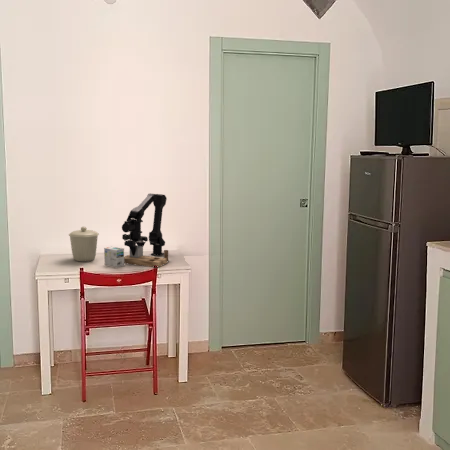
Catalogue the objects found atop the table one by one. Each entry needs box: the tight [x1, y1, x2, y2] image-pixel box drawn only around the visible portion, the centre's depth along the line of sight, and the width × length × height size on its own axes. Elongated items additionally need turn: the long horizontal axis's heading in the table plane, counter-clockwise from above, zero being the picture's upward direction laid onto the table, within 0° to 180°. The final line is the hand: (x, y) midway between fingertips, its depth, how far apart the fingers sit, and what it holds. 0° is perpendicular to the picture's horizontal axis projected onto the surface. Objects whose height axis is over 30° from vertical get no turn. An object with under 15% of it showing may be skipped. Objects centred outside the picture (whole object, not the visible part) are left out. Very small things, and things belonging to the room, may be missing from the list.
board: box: [124, 254, 168, 268], centre depth 364 cm, size 12×26×8 cm, turn 67°
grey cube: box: [129, 246, 144, 258], centre depth 369 cm, size 6×6×6 cm
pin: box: [163, 249, 169, 262], centre depth 369 cm, size 3×3×7 cm
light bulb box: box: [103, 245, 125, 268], centre depth 357 cm, size 11×7×11 cm, turn 56°
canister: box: [68, 226, 100, 263], centre depth 368 cm, size 18×18×21 cm
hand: (136, 254), depth 369 cm, fingers open, 6 cm apart
